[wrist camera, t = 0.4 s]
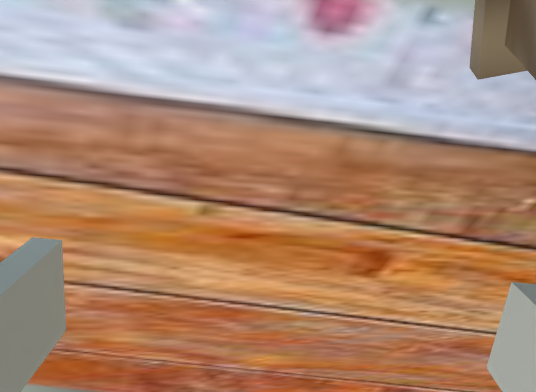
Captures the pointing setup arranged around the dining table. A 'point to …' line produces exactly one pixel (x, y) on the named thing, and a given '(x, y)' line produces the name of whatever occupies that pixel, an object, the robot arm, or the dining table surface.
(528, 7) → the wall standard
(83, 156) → the dining table surface
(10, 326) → the robot arm
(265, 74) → the dining table surface
